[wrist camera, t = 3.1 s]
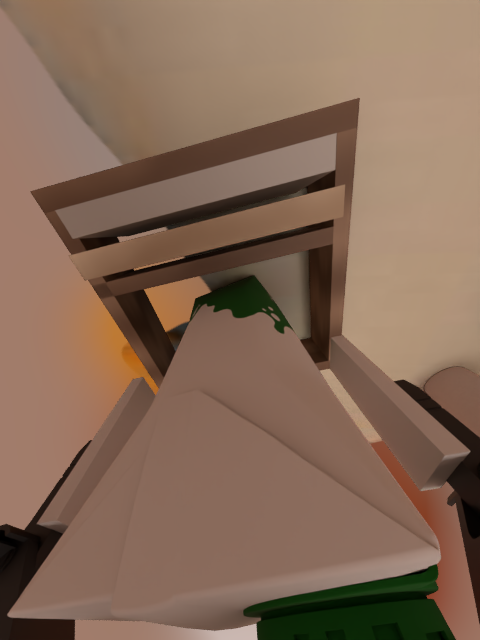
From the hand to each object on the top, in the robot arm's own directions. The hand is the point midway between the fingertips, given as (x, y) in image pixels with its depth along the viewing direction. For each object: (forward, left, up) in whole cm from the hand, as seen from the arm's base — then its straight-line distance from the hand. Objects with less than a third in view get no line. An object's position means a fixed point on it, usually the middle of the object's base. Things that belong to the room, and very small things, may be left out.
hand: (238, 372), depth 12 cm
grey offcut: (-11, 0, -10) cm, 15 cm away
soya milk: (0, 0, -10) cm, 10 cm away
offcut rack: (-3, 0, -10) cm, 10 cm away
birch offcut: (-9, 0, -10) cm, 13 cm away
